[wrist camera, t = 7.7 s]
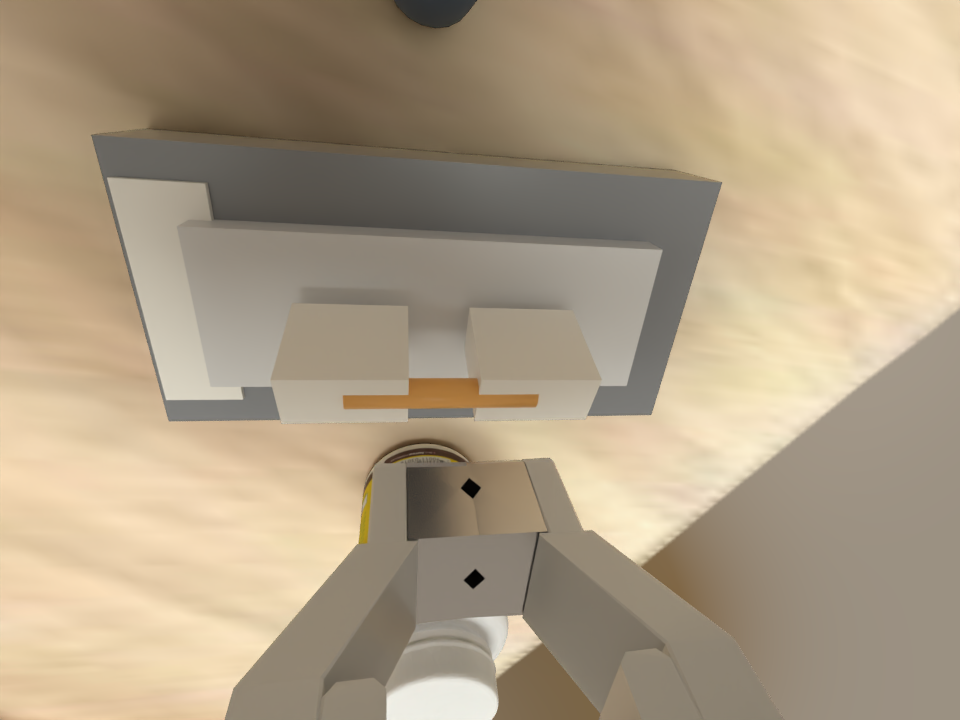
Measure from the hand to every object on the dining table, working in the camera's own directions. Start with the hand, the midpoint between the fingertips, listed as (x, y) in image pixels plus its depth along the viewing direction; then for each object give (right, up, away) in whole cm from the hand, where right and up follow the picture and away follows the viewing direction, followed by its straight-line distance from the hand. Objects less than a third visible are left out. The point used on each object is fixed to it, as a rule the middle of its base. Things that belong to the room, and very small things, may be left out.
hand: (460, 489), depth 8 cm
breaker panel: (-2, +5, +10) cm, 12 cm away
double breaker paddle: (-1, +3, +6) cm, 7 cm away
